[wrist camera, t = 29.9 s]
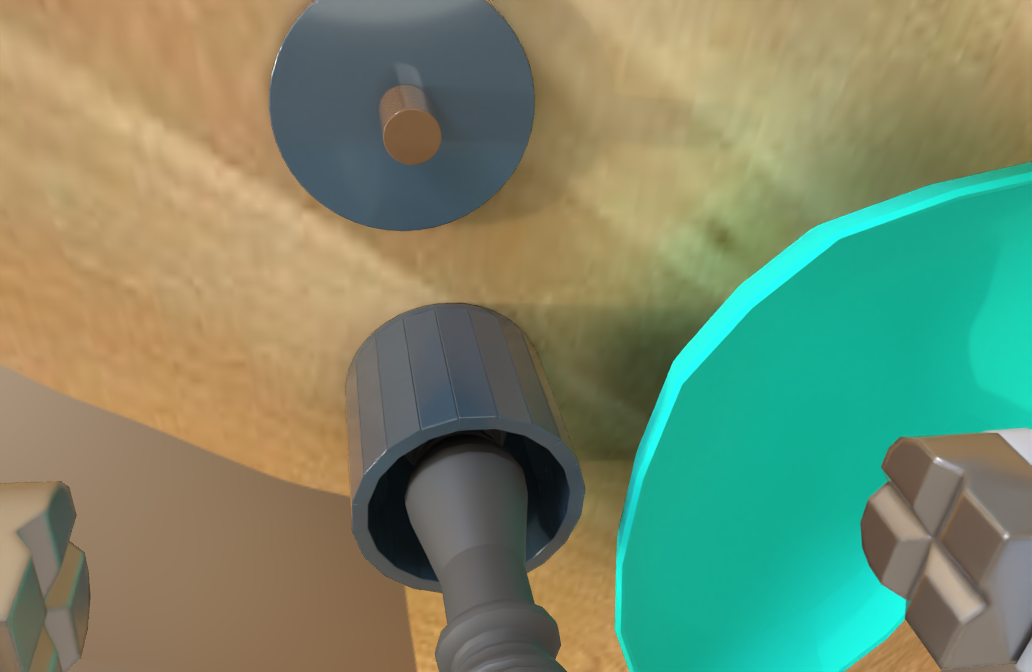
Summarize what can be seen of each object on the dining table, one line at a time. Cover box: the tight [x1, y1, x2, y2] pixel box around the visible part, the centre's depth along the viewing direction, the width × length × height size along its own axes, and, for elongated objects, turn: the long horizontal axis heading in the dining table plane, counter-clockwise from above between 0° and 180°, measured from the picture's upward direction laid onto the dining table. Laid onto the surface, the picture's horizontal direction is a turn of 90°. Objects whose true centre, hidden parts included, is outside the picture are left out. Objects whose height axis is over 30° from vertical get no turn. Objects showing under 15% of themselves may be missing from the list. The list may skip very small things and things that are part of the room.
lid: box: [269, 0, 535, 231], centre depth 42 cm, size 13×13×5 cm
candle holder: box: [404, 429, 567, 672], centre depth 42 cm, size 6×6×25 cm
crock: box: [345, 303, 585, 593], centre depth 49 cm, size 12×12×11 cm
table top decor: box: [615, 162, 1032, 672], centre depth 52 cm, size 40×28×13 cm
